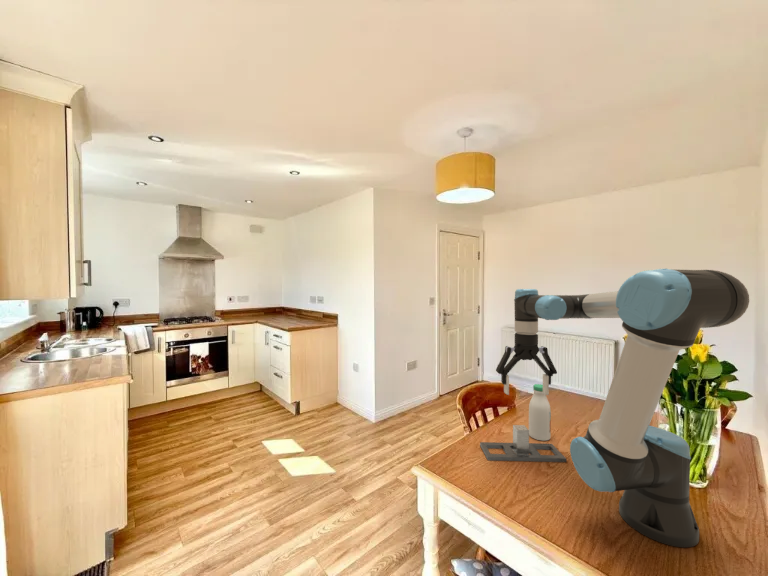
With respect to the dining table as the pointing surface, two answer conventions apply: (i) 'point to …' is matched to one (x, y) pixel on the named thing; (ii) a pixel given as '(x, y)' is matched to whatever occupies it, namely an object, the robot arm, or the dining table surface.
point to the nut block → (520, 439)
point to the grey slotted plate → (520, 457)
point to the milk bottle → (539, 415)
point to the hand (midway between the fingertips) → (526, 393)
